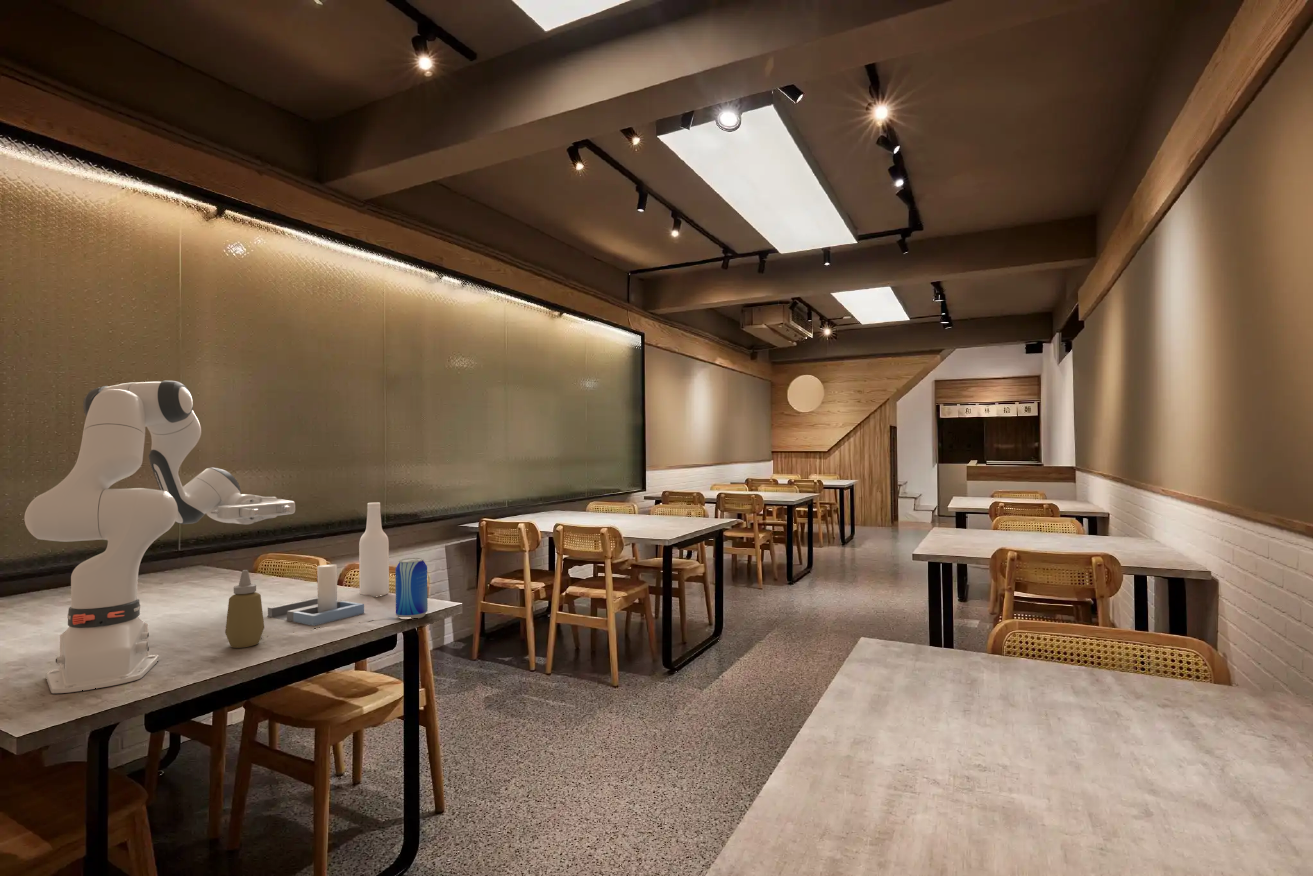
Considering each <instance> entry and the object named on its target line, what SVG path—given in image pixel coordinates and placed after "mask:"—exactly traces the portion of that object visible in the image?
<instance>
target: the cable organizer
mask: <svg viewBox="0 0 1313 876" xmlns="http://www.w3.org/2000/svg"><path fill="white" fill-rule="evenodd" d="M364 614H366V612H365V603H360V602H355V601H354V602H353V601H347V600H341V599H337V609H333V610H329V611H325V612H321V613H318V596H315V597H311V598H306V599H302V600H297V601H291V602H287V603H283V604H278V605H273V606H269V607H268V606H267V617H268V618H271V619H272V618H273V619H277V620H283V621H288V622H293V623H296V624H297V623H298V624H303V625H307V626H312V627H314V629H316V628H317V627H316V626H319V627H318V628H320V627H321V626H320V625H324V624H329V623H332V622H337V621H340V620H344V619H348V618H349V619H350V618H351V617H357V616H361V615H364ZM267 617H266V618H267ZM314 629H313V630H314ZM320 629H321V628H320ZM316 630H317V629H316Z"/></svg>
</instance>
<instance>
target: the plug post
mask: <svg viewBox="0 0 1313 876" xmlns="http://www.w3.org/2000/svg"><path fill="white" fill-rule="evenodd" d="M316 571H317V597H318V613H321V612H325V611H329V610H333V609H337V600H338V591H337V590H338V565H337V564H322V565H321V564H320V565H317V570H316Z"/></svg>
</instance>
